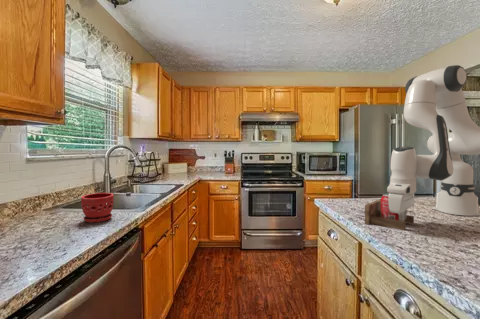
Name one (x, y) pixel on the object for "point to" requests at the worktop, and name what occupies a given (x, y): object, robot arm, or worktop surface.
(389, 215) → the soda can
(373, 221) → the bay
